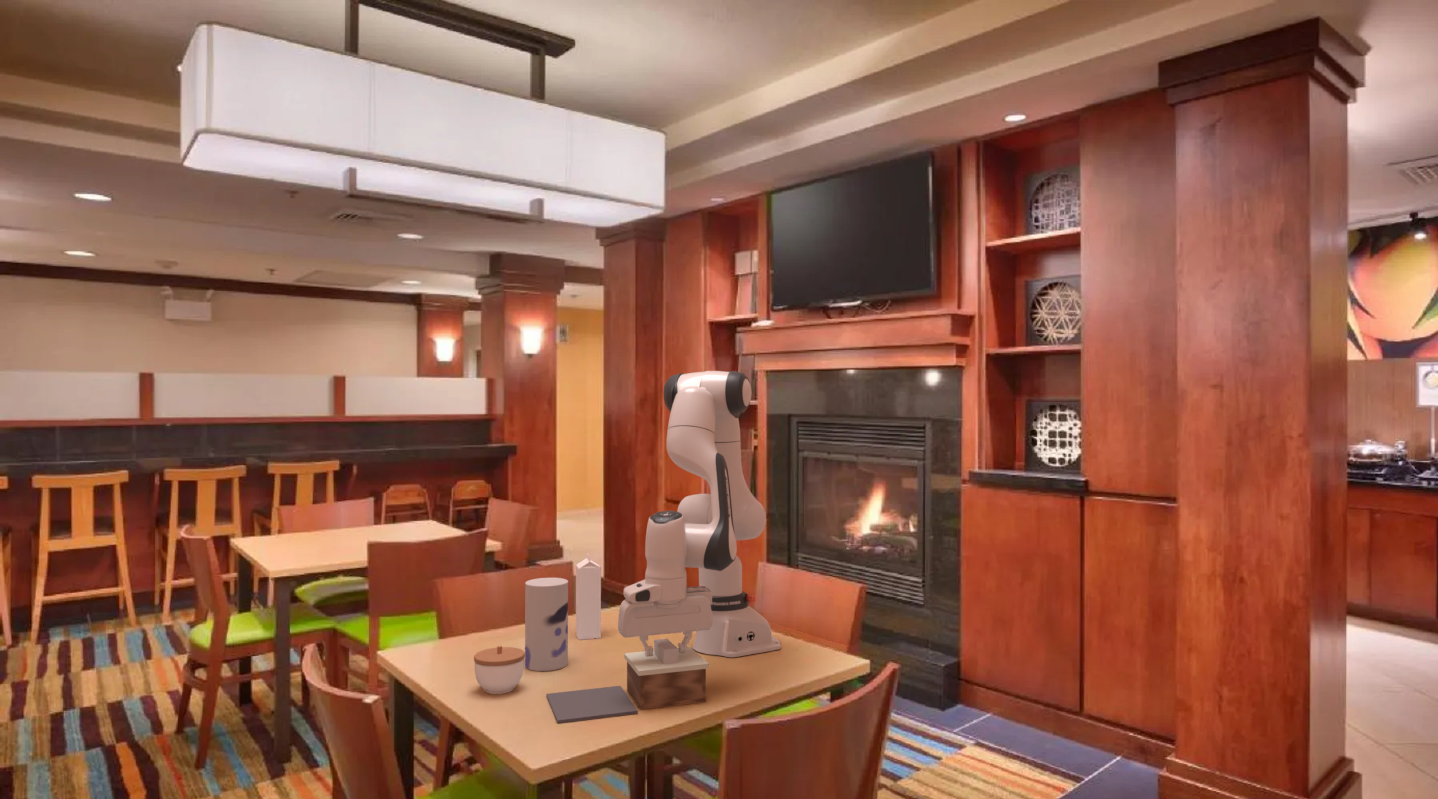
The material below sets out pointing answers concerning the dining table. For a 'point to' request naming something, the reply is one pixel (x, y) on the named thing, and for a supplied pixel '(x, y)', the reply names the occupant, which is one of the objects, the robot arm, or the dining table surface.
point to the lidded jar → (499, 669)
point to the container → (546, 624)
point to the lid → (665, 659)
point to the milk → (588, 599)
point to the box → (666, 688)
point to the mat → (590, 704)
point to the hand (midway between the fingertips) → (665, 654)
